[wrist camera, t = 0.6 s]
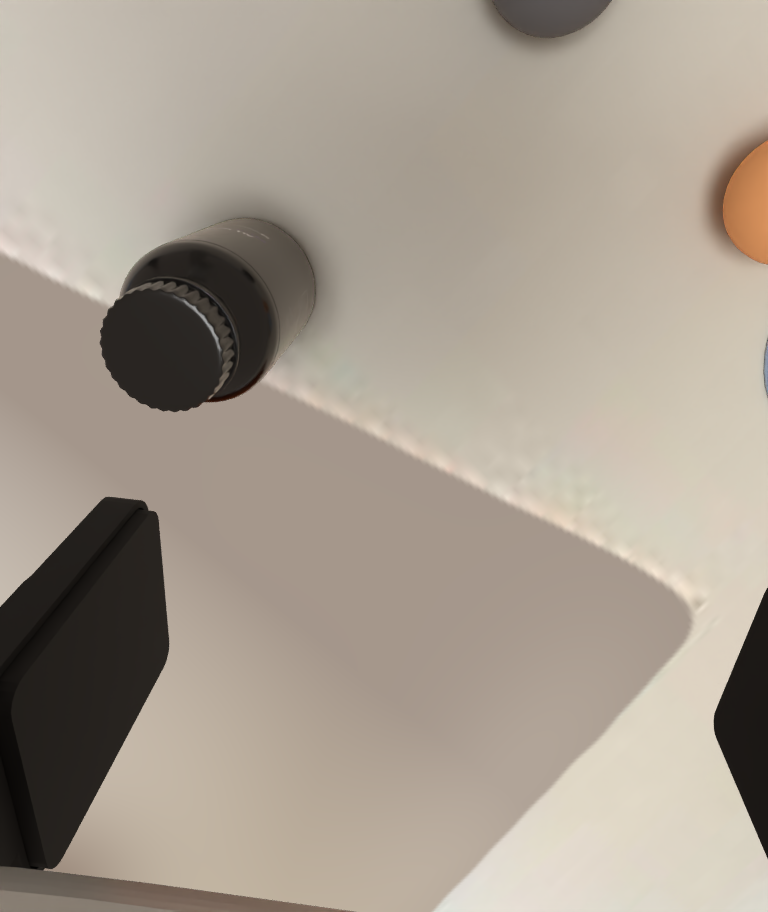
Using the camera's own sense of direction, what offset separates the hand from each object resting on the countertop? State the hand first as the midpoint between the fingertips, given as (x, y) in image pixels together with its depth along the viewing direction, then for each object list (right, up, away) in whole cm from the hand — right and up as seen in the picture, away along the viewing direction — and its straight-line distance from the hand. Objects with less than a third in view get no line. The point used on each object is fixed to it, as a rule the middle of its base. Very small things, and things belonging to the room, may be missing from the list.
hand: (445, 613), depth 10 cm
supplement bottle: (-8, +12, +25) cm, 29 cm away
